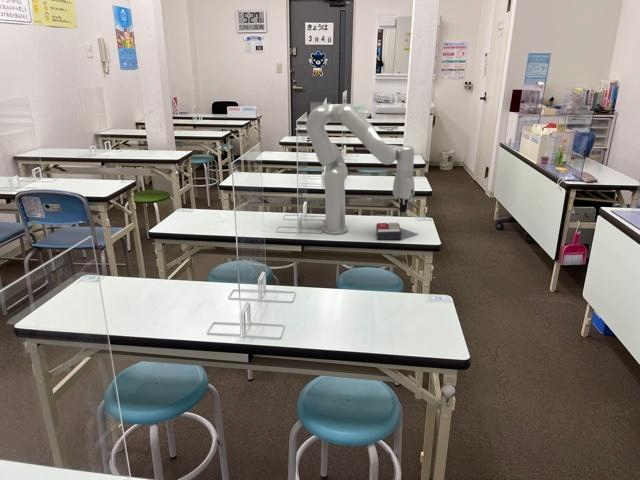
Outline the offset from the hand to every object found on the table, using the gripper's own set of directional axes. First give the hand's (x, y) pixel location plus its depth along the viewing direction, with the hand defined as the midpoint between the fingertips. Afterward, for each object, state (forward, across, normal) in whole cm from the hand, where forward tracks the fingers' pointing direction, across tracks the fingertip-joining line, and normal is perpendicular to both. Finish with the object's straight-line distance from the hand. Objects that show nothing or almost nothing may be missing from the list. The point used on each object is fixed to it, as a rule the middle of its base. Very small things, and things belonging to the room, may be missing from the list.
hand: (403, 211), depth 225 cm
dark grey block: (+9, -9, -1) cm, 13 cm away
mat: (+11, 0, 0) cm, 11 cm away
